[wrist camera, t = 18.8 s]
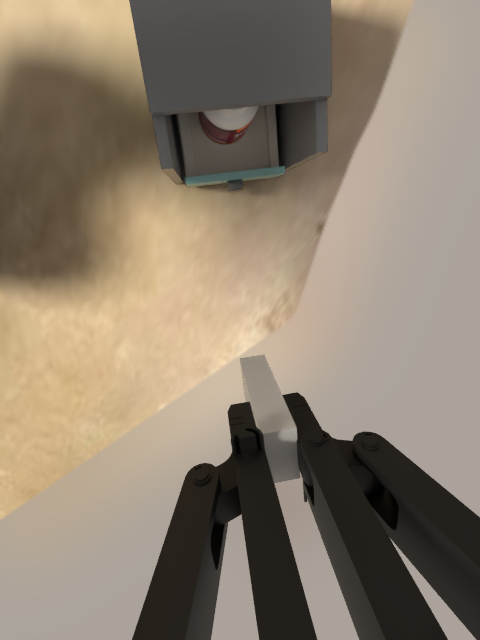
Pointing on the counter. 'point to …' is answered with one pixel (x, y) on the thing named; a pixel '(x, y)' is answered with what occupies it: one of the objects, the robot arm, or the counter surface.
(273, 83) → the housing
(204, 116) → the pill bottle
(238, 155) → the tray
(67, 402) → the counter surface
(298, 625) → the robot arm
